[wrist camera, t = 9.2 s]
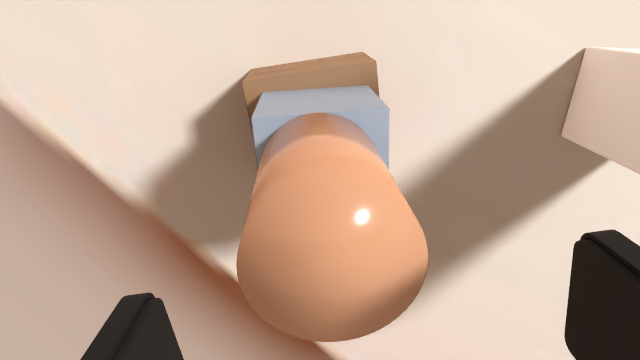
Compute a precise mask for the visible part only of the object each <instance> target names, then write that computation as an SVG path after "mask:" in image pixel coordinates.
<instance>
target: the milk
mask: <svg viewBox="0 0 640 360" xmlns="http://www.w3.org/2000/svg"><path fill="white" fill-rule="evenodd" d="M561 136H562V137H564V138H566V139H568V140H570V141H572V142H574V143H576V144H578V145H580V146H582V147H584V148H587V149H589V150H591V151H593V152H595V153H597V154H599V155H601V156H603V157H605V158H607V159H609V160H612V161H614V162H616V163H618V164H620V165H622V166H624V167H626V168H628V169H630V170H632V171H634V172H637V173H639V174H640V49H626V48H605V47H587V48H586V50H585V53H584V57H583V60H582V64H581V67H580V71H579V74H578V78H577V81H576V85H575V88H574V92H573V95H572V99H571V102H570V106H569V109H568V113H567V116H566V120H565V123H564V126H563V130H562V134H561Z"/></svg>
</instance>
